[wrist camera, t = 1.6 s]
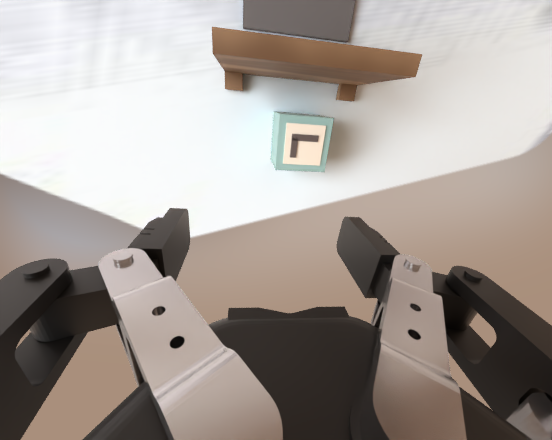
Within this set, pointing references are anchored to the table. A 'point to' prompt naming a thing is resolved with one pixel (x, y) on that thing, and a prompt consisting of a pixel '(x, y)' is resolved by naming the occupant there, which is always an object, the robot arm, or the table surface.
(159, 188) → the table surface
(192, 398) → the robot arm
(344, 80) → the wooden footed board
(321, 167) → the letter cube
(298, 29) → the mat
